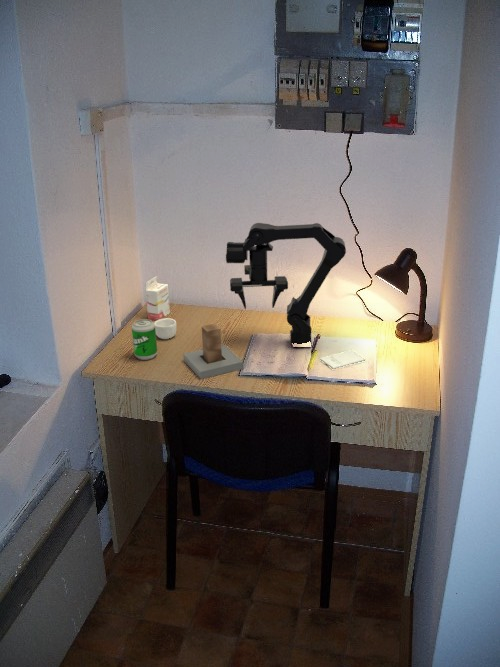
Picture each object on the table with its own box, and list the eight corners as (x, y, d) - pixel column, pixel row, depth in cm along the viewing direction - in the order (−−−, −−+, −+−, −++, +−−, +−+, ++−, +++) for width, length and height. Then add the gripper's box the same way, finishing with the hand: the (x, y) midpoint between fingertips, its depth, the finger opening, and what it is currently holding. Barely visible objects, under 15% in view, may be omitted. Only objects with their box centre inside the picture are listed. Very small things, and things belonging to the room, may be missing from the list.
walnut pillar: (216, 360, 213) (214, 323, 207) (222, 366, 209) (220, 328, 204) (203, 363, 211) (201, 326, 205) (209, 369, 207) (207, 331, 202)
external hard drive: (365, 363, 210) (333, 372, 205) (350, 353, 217) (318, 361, 211) (365, 358, 209) (333, 367, 204) (350, 349, 216) (318, 357, 211)
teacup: (172, 342, 226) (171, 327, 224) (151, 340, 228) (150, 326, 226) (182, 330, 235) (181, 316, 233) (162, 328, 237) (161, 315, 235)
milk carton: (159, 321, 243) (156, 283, 237) (147, 319, 245) (144, 282, 239) (170, 313, 250) (167, 276, 244) (159, 311, 252) (156, 275, 246)
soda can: (148, 349, 221) (145, 316, 217) (162, 355, 217) (159, 322, 212) (130, 356, 217) (126, 322, 212) (143, 363, 212) (140, 329, 207)
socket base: (224, 351, 219) (224, 344, 218) (243, 368, 207) (243, 361, 206) (183, 360, 213) (183, 353, 212) (200, 379, 201) (200, 371, 200)
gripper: (284, 254, 220) (284, 298, 226) (228, 256, 219) (230, 300, 225) (288, 265, 210) (288, 310, 216) (229, 267, 209) (231, 312, 215)
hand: (259, 308), depth 218 cm, fingers open, 9 cm apart
